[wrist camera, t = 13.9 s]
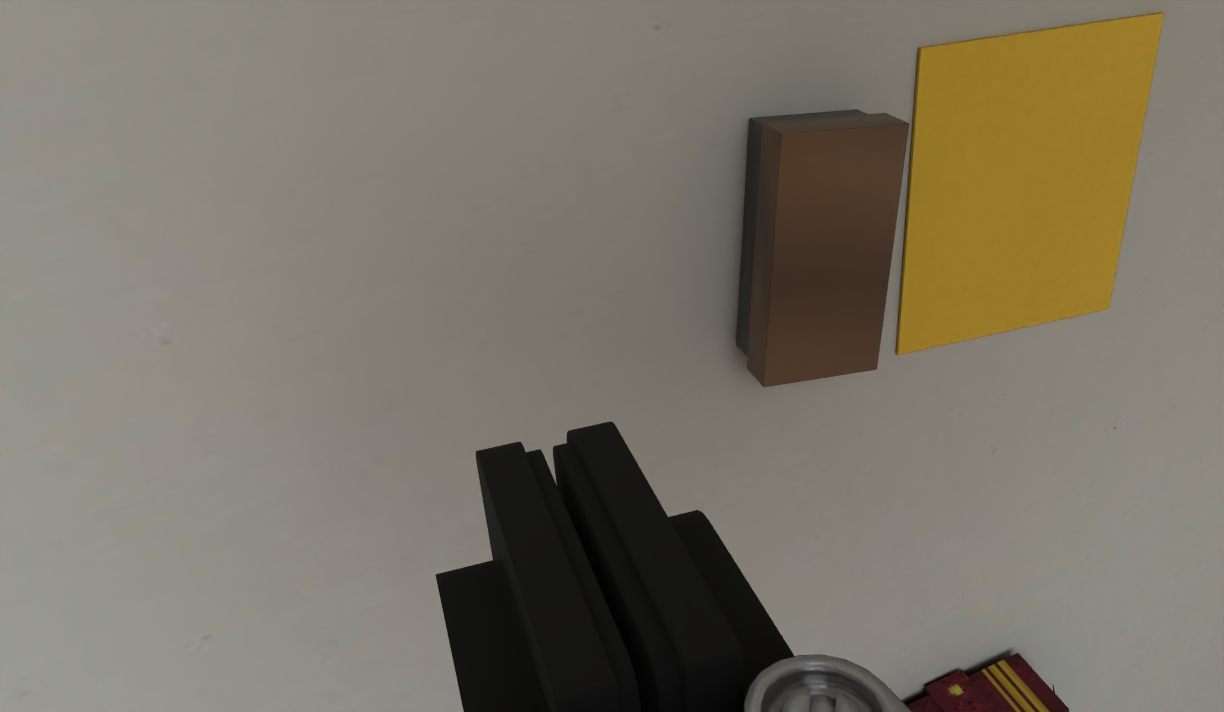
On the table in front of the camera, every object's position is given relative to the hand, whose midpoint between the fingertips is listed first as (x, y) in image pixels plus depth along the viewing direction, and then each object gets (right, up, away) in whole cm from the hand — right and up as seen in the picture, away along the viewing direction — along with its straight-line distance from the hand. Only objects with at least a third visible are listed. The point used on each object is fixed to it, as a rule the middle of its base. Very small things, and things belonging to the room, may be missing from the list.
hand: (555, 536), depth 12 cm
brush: (+7, +7, +24) cm, 26 cm away
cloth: (+16, +9, +26) cm, 32 cm away
